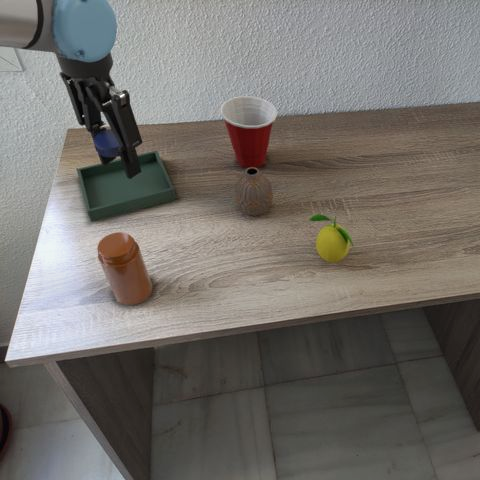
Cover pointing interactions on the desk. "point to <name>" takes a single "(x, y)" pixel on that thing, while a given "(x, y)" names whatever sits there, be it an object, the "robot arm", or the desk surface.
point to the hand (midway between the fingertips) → (121, 167)
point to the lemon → (332, 240)
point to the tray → (124, 187)
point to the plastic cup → (249, 128)
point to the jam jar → (124, 268)
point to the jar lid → (106, 144)
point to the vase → (253, 192)
